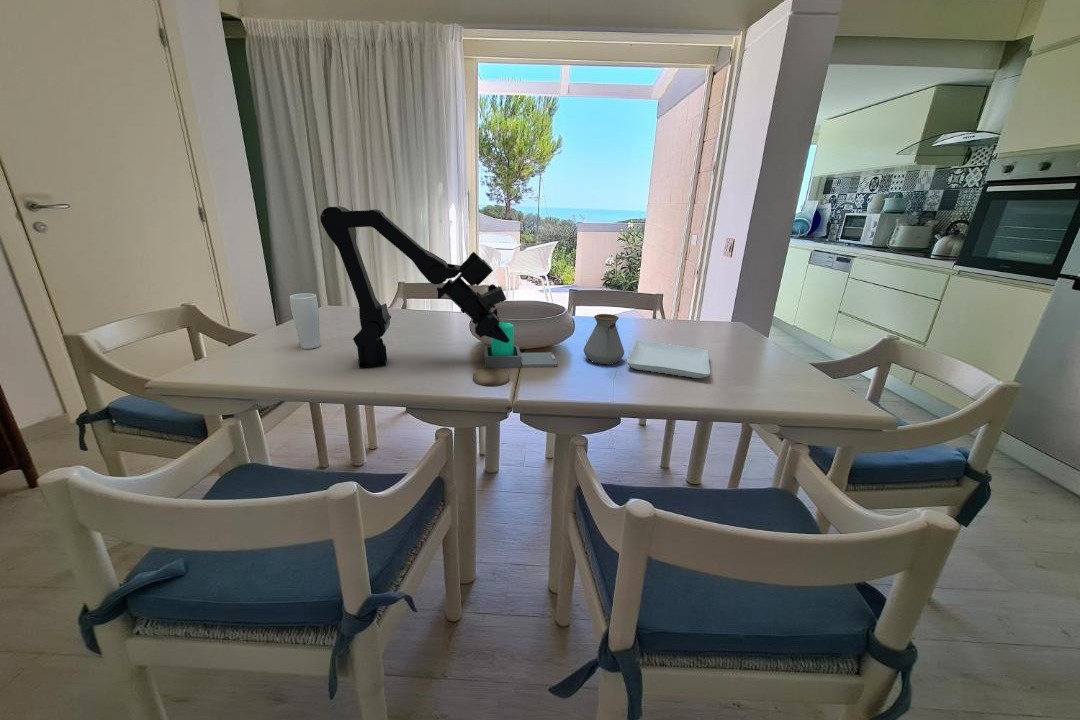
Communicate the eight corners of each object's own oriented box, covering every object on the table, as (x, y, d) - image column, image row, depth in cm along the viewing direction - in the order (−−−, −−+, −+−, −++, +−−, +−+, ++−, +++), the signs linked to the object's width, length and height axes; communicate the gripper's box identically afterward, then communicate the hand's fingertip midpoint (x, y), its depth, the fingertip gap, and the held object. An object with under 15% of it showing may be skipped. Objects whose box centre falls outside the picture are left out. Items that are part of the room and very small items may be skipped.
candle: (512, 365, 116) (513, 322, 112) (490, 364, 116) (489, 321, 112) (514, 358, 122) (514, 316, 117) (493, 357, 122) (492, 316, 118)
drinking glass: (300, 344, 127) (291, 293, 122) (325, 342, 129) (318, 292, 124) (295, 351, 121) (286, 298, 116) (321, 349, 123) (314, 297, 117)
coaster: (479, 388, 101) (479, 383, 101) (468, 375, 109) (468, 370, 108) (514, 383, 105) (514, 378, 104) (502, 370, 112) (502, 366, 112)
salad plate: (709, 385, 109) (711, 373, 107) (624, 373, 115) (626, 361, 114) (707, 359, 128) (708, 348, 126) (634, 350, 134) (635, 339, 133)
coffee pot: (581, 352, 128) (585, 303, 123) (620, 354, 128) (625, 305, 123) (585, 380, 108) (590, 322, 103) (631, 382, 108) (638, 324, 103)
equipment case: (485, 367, 114) (485, 357, 113) (484, 355, 123) (484, 345, 122) (557, 366, 116) (557, 356, 115) (551, 355, 125) (552, 345, 124)
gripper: (488, 282, 102) (533, 327, 107) (486, 271, 119) (525, 310, 124) (455, 315, 103) (501, 357, 108) (458, 298, 121) (498, 336, 126)
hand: (507, 338), depth 117 cm, fingers closed on candle, 5 cm apart
